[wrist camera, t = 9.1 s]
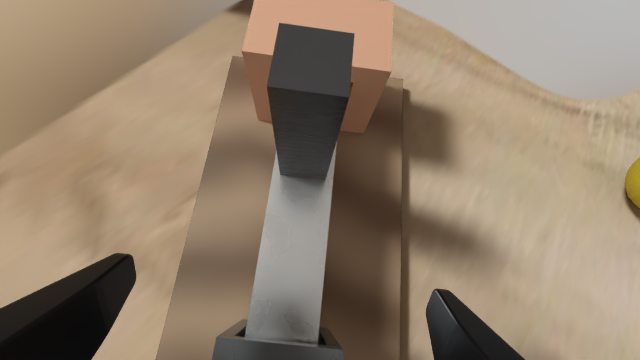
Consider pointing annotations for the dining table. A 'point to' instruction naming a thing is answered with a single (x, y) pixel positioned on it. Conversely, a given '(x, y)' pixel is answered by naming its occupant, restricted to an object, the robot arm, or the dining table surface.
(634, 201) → the lemon
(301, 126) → the tube
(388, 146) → the base board
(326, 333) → the sleeve
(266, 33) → the socket block
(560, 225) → the dining table surface
